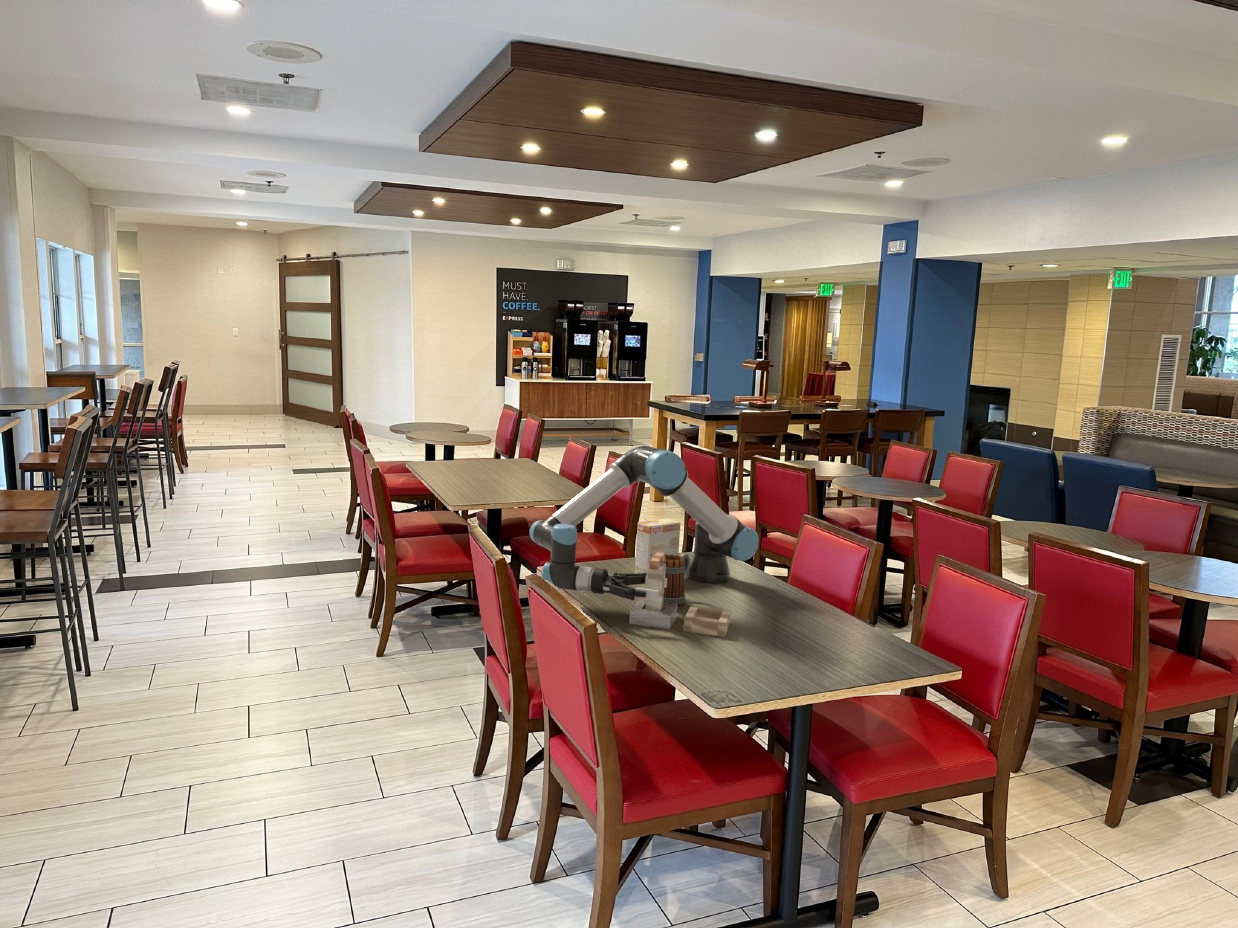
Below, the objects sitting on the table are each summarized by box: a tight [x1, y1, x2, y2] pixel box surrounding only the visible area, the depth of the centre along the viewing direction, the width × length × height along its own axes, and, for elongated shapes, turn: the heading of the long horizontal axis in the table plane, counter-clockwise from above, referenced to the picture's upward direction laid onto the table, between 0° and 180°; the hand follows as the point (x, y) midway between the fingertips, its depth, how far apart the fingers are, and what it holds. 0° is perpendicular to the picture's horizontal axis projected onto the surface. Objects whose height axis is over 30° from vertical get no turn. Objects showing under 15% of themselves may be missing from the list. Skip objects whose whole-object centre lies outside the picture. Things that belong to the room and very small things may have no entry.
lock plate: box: [628, 598, 679, 630], centre depth 246 cm, size 12×12×4 cm
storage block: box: [683, 605, 732, 638], centre depth 243 cm, size 12×12×4 cm
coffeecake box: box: [634, 518, 682, 576], centre depth 295 cm, size 15×7×20 cm, turn 130°
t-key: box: [645, 552, 666, 612], centre depth 245 cm, size 12×4×19 cm, turn 166°
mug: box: [663, 553, 691, 608], centre depth 266 cm, size 16×11×15 cm
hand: (662, 589), depth 245 cm, fingers open, 13 cm apart
